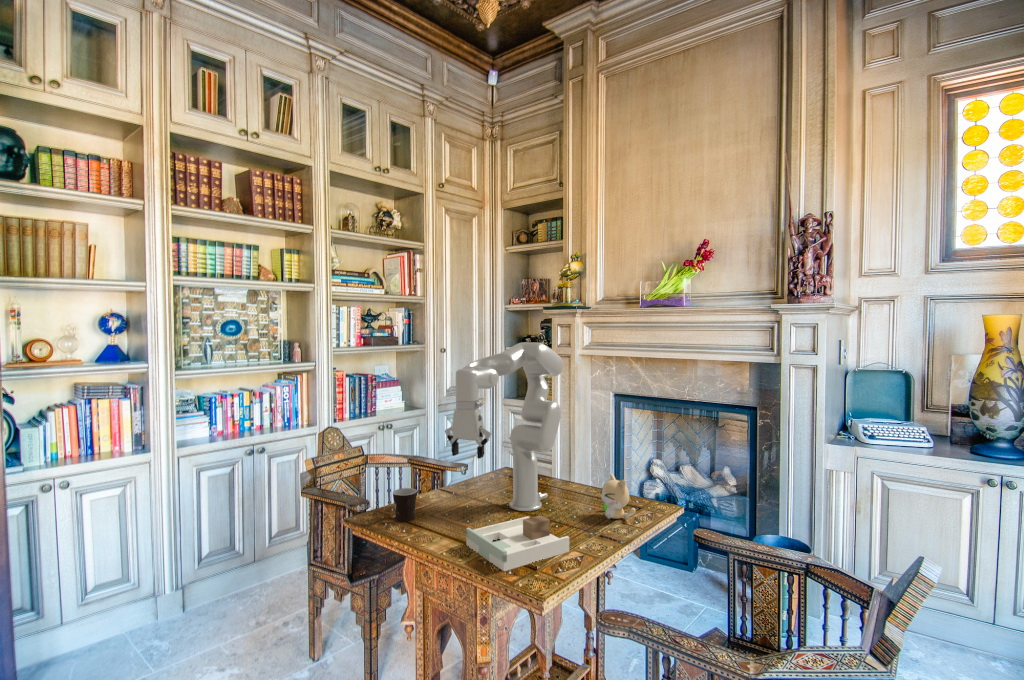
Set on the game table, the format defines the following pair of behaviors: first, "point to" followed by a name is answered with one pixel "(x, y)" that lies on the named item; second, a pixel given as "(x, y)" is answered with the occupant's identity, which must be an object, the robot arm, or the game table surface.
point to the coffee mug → (404, 504)
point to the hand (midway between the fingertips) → (467, 456)
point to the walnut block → (536, 527)
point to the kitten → (615, 498)
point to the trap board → (513, 544)
